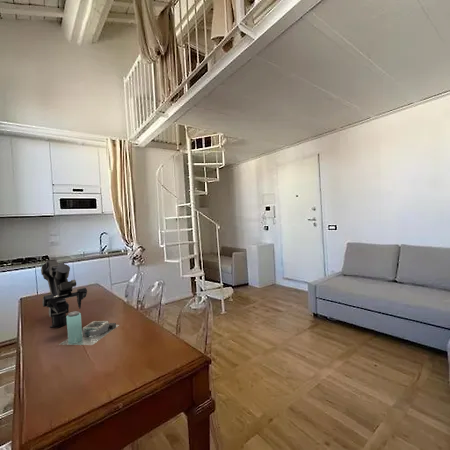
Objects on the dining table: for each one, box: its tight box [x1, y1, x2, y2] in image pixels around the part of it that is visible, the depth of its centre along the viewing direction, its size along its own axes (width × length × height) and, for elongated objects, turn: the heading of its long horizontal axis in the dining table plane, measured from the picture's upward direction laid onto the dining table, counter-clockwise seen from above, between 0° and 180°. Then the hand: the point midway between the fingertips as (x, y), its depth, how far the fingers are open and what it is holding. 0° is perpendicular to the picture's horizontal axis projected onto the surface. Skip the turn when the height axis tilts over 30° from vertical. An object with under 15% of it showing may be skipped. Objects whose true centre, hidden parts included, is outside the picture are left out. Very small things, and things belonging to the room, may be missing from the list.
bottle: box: [66, 310, 83, 344], centre depth 121 cm, size 6×6×13 cm
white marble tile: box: [58, 320, 120, 346], centre depth 127 cm, size 17×22×5 cm
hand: (69, 311), depth 126 cm, fingers open, 9 cm apart
